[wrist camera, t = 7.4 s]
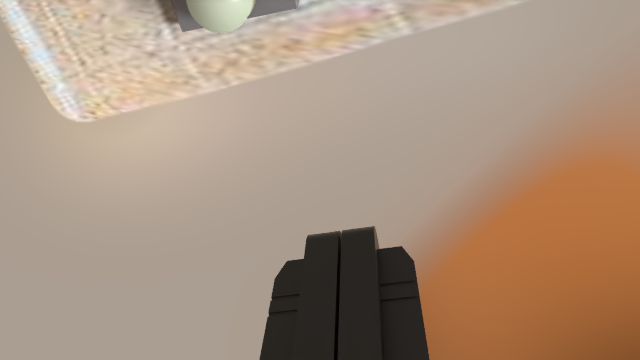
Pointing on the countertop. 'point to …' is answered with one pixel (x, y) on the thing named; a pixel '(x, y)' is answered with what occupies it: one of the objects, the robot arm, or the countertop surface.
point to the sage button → (220, 13)
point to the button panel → (265, 4)
